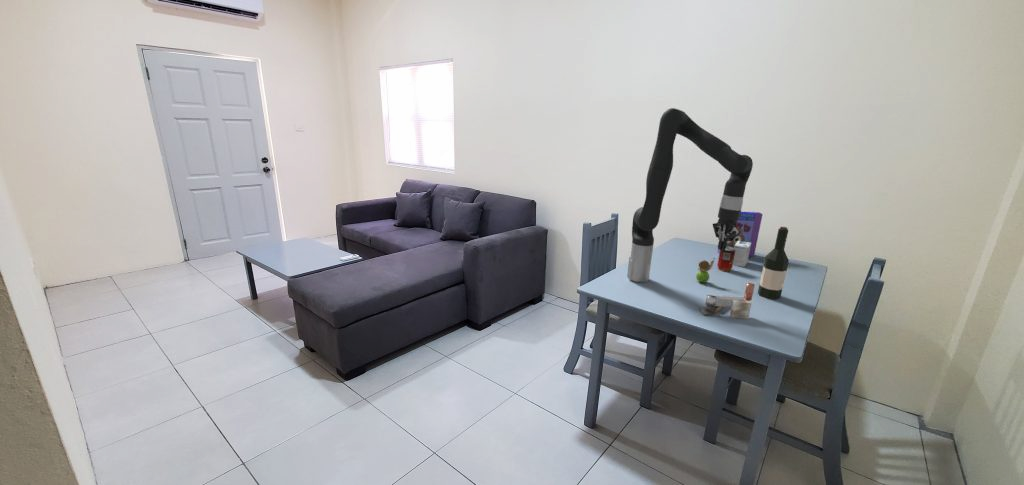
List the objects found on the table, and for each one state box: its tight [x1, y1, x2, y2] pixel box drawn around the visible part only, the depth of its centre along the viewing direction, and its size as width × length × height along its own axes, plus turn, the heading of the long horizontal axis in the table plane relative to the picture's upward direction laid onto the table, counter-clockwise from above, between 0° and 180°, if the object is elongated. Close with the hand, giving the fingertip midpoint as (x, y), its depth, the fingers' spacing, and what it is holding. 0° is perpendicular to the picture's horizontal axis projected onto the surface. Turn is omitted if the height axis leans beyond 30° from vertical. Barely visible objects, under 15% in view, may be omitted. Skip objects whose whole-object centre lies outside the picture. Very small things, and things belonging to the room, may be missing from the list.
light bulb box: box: [733, 241, 751, 268], centre depth 212 cm, size 11×7×11 cm, turn 144°
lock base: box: [698, 295, 753, 319], centre depth 160 cm, size 16×15×6 cm
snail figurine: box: [695, 257, 715, 283], centre depth 186 cm, size 5×6×12 cm
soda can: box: [717, 246, 735, 272], centre depth 203 cm, size 7×7×12 cm
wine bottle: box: [757, 226, 790, 301], centre depth 170 cm, size 8×8×30 cm
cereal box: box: [717, 211, 763, 258], centre depth 225 cm, size 17×5×24 cm, turn 80°
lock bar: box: [705, 282, 756, 308], centre depth 155 cm, size 16×4×9 cm, turn 84°
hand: (721, 249), depth 164 cm, fingers closed
